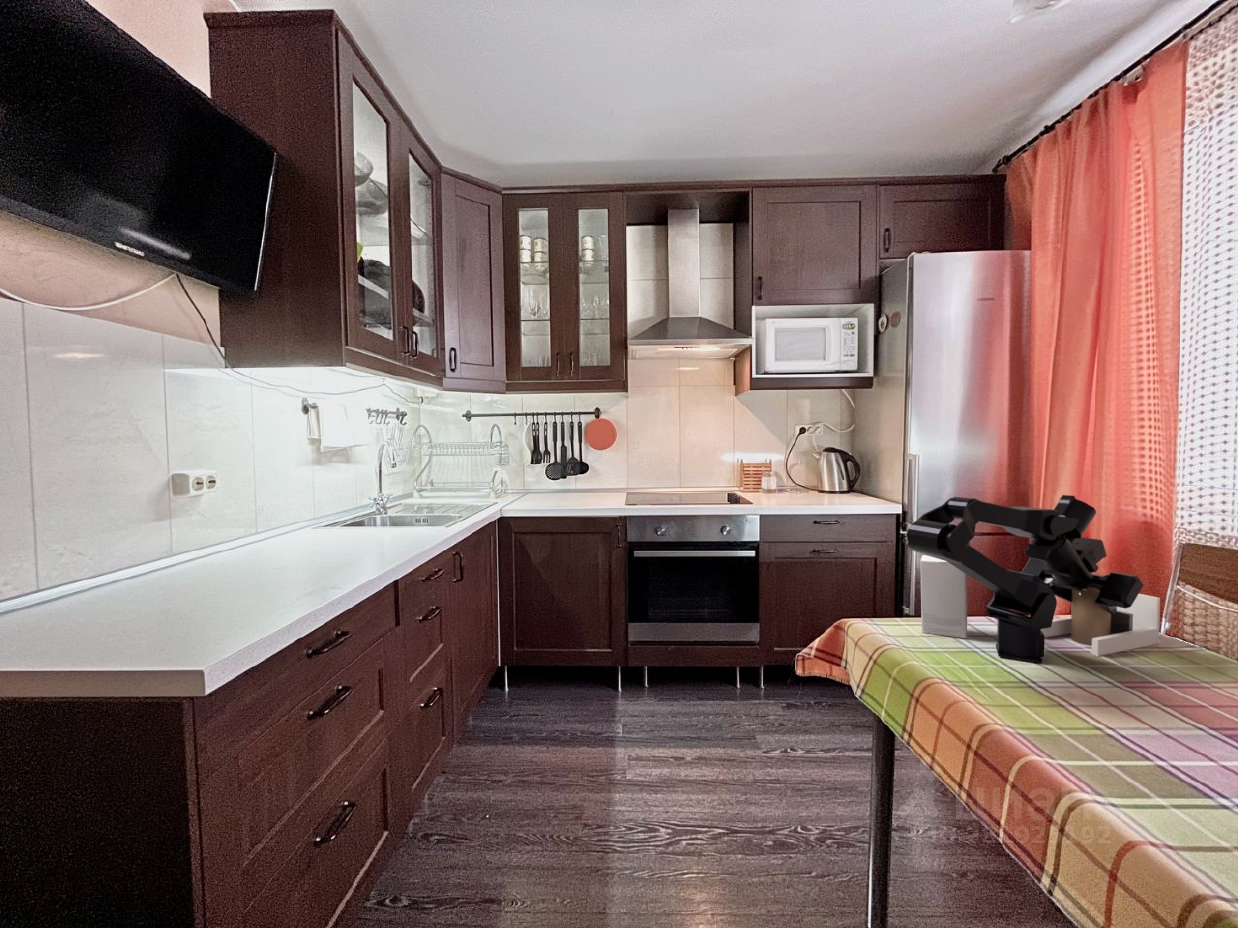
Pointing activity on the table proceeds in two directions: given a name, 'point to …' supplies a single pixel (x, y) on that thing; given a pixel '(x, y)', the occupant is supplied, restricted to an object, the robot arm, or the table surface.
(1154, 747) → the table surface
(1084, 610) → the jar
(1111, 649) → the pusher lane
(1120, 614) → the pusher paddle
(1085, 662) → the table surface
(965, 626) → the skincare box
